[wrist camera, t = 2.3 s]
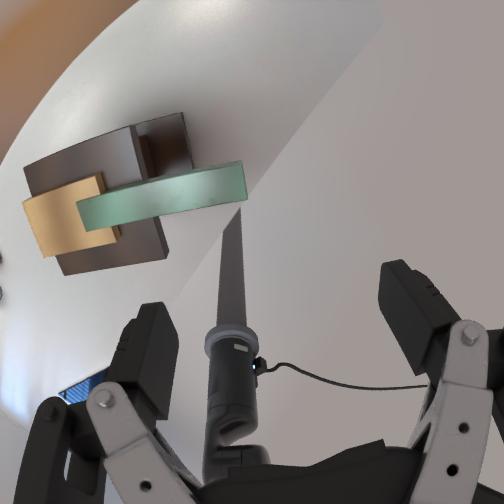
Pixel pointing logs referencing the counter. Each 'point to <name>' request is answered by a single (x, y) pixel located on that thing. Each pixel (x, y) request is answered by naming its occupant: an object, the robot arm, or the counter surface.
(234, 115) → the counter surface
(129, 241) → the brown pedestal stand
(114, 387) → the robot arm
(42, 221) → the spatula
